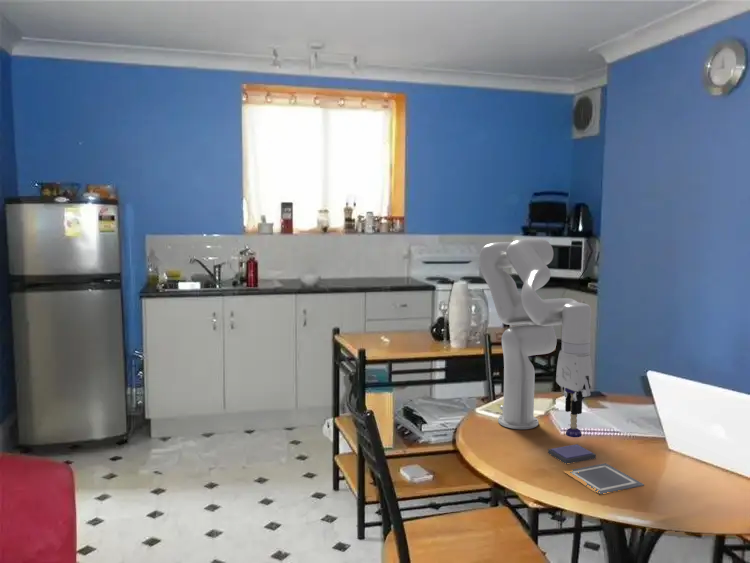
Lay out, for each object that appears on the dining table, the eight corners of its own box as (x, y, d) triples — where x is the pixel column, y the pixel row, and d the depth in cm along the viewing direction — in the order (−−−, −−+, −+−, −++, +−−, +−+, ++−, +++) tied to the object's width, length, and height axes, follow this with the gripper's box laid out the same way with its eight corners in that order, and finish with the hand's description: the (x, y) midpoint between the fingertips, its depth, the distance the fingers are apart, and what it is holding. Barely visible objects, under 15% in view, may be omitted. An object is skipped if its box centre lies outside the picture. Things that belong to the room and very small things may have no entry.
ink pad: (548, 453, 183) (548, 448, 183) (576, 448, 186) (577, 443, 186) (565, 464, 175) (566, 458, 175) (595, 458, 179) (595, 453, 179)
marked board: (563, 472, 170) (563, 470, 170) (605, 464, 175) (605, 462, 175) (599, 495, 157) (599, 493, 157) (644, 485, 162) (644, 484, 162)
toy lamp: (578, 439, 177) (580, 380, 175) (561, 436, 179) (563, 377, 177) (583, 433, 181) (585, 376, 179) (566, 430, 183) (568, 373, 181)
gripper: (546, 343, 183) (544, 405, 185) (583, 355, 168) (581, 423, 170) (568, 340, 185) (566, 402, 188) (606, 352, 171) (603, 419, 173)
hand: (573, 412), depth 179 cm, fingers closed on toy lamp
